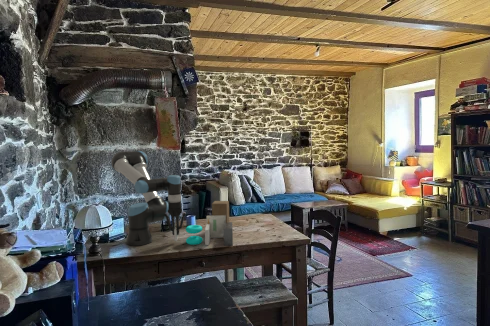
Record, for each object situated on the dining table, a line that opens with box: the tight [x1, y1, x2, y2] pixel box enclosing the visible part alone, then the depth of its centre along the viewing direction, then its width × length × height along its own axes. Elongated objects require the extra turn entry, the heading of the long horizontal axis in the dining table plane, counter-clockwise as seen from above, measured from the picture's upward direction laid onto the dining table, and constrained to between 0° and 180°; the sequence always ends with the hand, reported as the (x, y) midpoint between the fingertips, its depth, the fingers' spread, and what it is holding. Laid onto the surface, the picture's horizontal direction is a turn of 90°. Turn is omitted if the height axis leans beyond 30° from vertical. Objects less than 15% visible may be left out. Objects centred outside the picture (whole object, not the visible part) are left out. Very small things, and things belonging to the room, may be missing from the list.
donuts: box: [185, 224, 203, 246], centre depth 208 cm, size 10×10×10 cm
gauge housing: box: [206, 215, 234, 247], centre depth 210 cm, size 16×18×14 cm
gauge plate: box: [204, 219, 211, 246], centre depth 209 cm, size 2×15×12 cm, turn 2°
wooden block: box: [211, 200, 230, 222], centre depth 231 cm, size 10×10×20 cm
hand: (176, 240), depth 207 cm, fingers closed
